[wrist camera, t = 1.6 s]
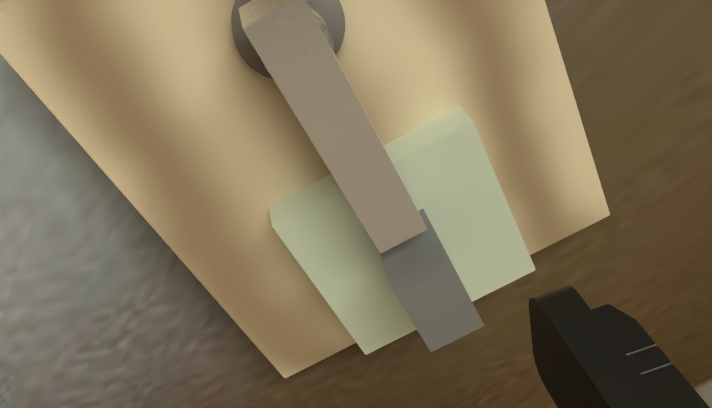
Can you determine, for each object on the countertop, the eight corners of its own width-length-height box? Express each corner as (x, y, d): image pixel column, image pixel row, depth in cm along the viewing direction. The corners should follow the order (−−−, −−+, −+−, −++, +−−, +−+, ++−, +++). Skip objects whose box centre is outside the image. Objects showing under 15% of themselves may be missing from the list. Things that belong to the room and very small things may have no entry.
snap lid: (460, 105, 28) (512, 173, 23) (522, 250, 33) (575, 329, 29) (268, 206, 29) (284, 291, 24) (359, 333, 34) (385, 422, 29)
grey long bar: (293, -39, 23) (308, -8, 20) (407, 179, 28) (432, 226, 25) (230, -3, 23) (236, 32, 20) (356, 205, 29) (375, 256, 26)
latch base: (436, -259, 23) (471, -260, 20) (580, 182, 35) (616, 222, 32) (-4, -2, 25) (-29, 32, 22) (278, 337, 37) (286, 387, 34)
